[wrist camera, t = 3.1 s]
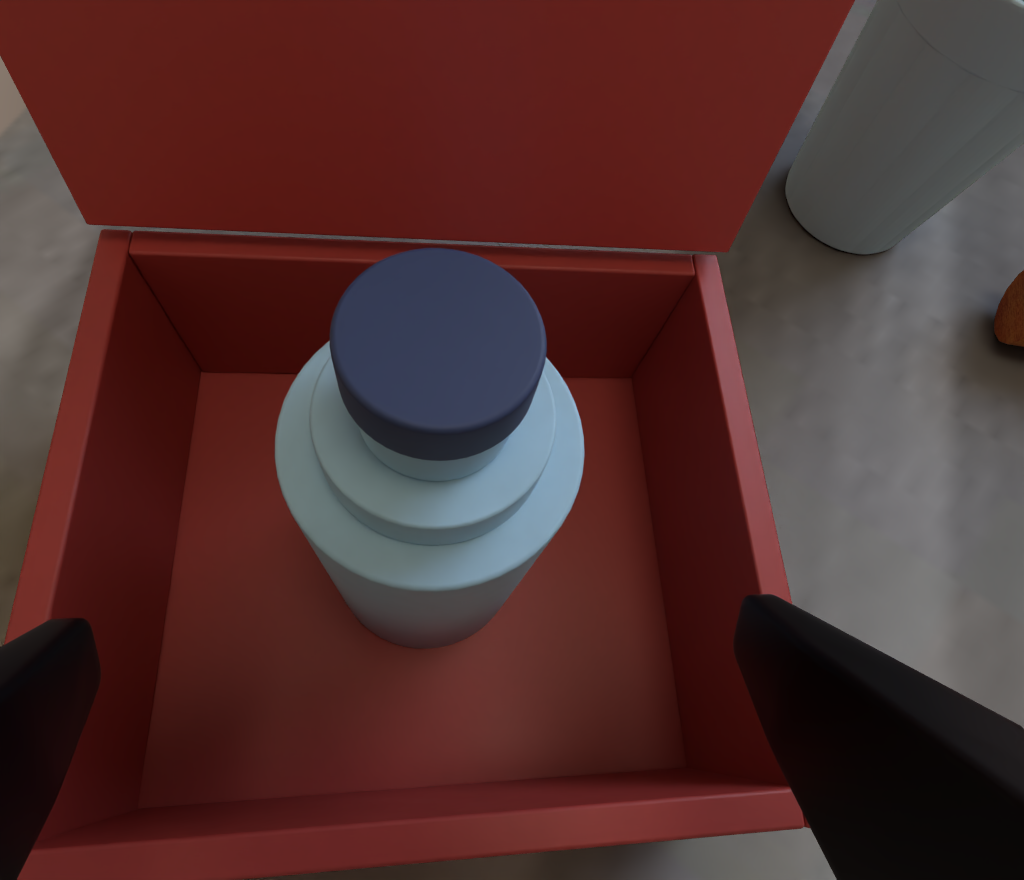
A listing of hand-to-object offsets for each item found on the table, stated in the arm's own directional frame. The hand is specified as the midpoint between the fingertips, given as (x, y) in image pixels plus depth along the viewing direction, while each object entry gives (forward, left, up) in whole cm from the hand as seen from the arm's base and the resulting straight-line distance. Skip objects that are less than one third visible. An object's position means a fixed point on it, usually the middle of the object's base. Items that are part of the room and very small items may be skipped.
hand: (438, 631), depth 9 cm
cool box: (+3, +2, -10) cm, 11 cm away
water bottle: (+3, +2, -10) cm, 10 cm away
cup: (+25, -6, -11) cm, 28 cm away
